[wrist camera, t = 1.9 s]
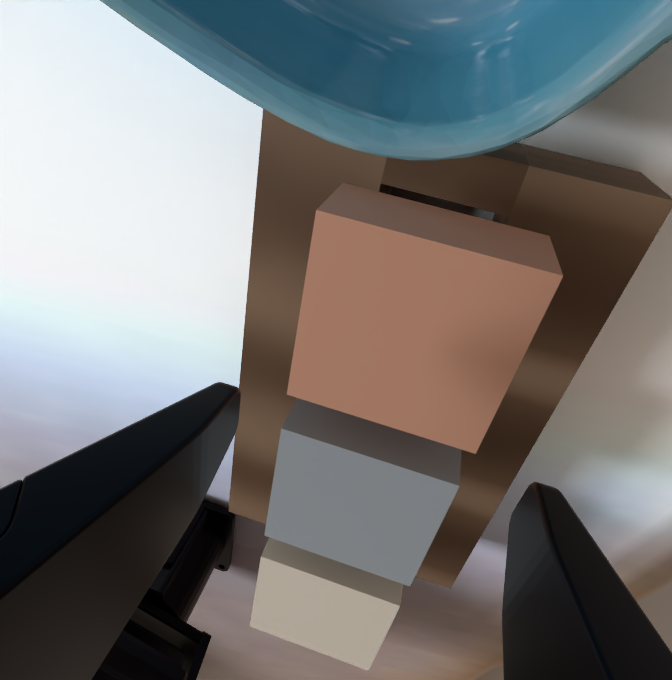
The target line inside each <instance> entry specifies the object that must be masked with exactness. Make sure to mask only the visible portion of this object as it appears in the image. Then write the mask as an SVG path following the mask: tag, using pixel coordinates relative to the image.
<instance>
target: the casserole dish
mask: <svg viewBox="0 0 672 680" xmlns="http://www.w3.org/2000/svg"><path fill="white" fill-rule="evenodd" d="M100 1H102V2H103V3H105V4H106V5H107V6H109V7H110V8H111V9H113V10H114V11H116V12H117V13H118V14H120V15H121V16H123V17H124V18H125V19H127V20H128V21H130V22H131V23H132V24H134V25H135V26H136V27H138V28H139V29H141V30H142V31H144V32H145V33H147V34H148V35H150V36H151V37H153V38H154V39H156V40H157V41H159V42H160V43H161V44H163V45H164V46H166V47H167V48H169V49H170V50H172V51H173V52H175V53H176V54H178V55H179V56H181V57H182V58H184V59H185V60H187V61H188V62H189V63H191V64H192V65H194V66H195V67H197V68H198V69H200V70H201V71H203V72H204V73H206V74H207V75H209V76H210V77H212V78H214V79H215V80H217V81H218V82H220V83H221V84H223V85H225V86H226V87H228V88H229V89H231V90H233V91H234V92H236V93H237V94H239V95H241V96H242V97H244V98H245V99H247V100H249V101H251V102H253V103H254V104H256V105H258V106H260V107H261V108H263V109H265V110H267V111H269V112H270V113H272V114H274V115H276V116H277V117H279V118H281V119H283V120H285V121H286V122H288V123H290V124H293V125H295V126H297V127H299V128H301V129H303V130H305V131H307V132H310V133H312V134H314V135H316V136H318V137H320V138H322V139H324V140H327V141H329V142H332V143H335V144H338V145H341V146H344V147H347V148H351V149H354V150H357V151H361V152H365V153H369V154H374V155H378V156H383V157H390V158H397V159H403V160H424V161H437V160H447V159H457V158H467V157H472V156H476V155H480V154H484V153H488V152H492V151H496V150H499V149H502V148H504V147H506V146H509V145H511V144H513V143H516V142H518V141H520V140H523V139H525V138H527V137H530V136H532V135H534V134H536V133H539V132H541V131H543V130H544V129H546V128H548V127H549V126H551V125H552V124H554V123H556V122H557V121H559V120H560V119H562V118H564V117H565V116H567V115H568V114H570V113H572V112H573V111H575V110H576V109H578V108H580V107H581V106H583V105H584V104H586V103H587V102H589V101H590V100H592V99H593V98H595V97H596V96H597V95H599V94H600V93H601V92H603V91H604V90H605V89H607V88H608V87H609V86H611V85H612V84H613V83H615V82H616V81H617V80H619V79H620V78H621V77H623V76H624V75H625V74H627V73H628V72H629V71H631V70H632V69H633V68H634V67H635V66H637V65H638V64H639V63H640V62H642V61H643V60H644V59H645V58H647V57H648V56H649V55H650V54H652V53H653V52H654V51H655V50H656V49H658V48H659V47H660V46H661V45H663V44H664V43H666V42H668V41H670V40H671V39H672V0H100Z"/></svg>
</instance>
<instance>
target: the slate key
mask: <svg viewBox="0 0 672 680" xmlns="http://www.w3.org/2000/svg"><path fill="white" fill-rule="evenodd" d="M460 469H461V449H458V448H455V447H452V446H449V445H446V444H443V443H439V442H436V441H433V440H430V439H427V438H423V437H420V436H417V435H414V434H411V433H408V432H404V431H401V430H398V429H395V428H392V427H388V426H385V425H382V424H379V423H376V422H373V421H369V420H366V419H363V418H360V417H357V416H353V415H350V414H347V413H344V412H341V411H338V410H334V409H331V408H328V407H325V406H322V405H318V404H315V403H312V402H309V401H306V400H303V399H299V398H297V399H296V401H295V403H294V405H293V407H292V409H291V411H290V413H289V415H288V416H287V418H286V420H285V422H284V424H283V426H282V428H281V433H280V440H279V446H278V452H277V458H276V465H275V471H274V477H273V484H272V490H271V496H270V502H269V509H268V515H267V521H266V527H265V534H264V536H267V537H270V538H273V539H276V540H278V541H281V542H284V543H287V544H290V545H293V546H295V547H298V548H301V549H304V550H307V551H310V552H313V553H315V554H318V555H321V556H324V557H327V558H330V559H333V560H335V561H338V562H341V563H344V564H347V565H350V566H352V567H355V568H358V569H361V570H364V571H367V572H370V573H372V574H375V575H378V576H381V577H384V578H387V579H390V580H392V581H395V582H398V583H401V584H404V585H407V586H409V587H410V586H411V584H412V582H413V580H414V578H415V576H416V574H417V572H418V570H419V568H420V566H421V563H422V561H423V559H424V557H425V555H426V553H427V551H428V549H429V547H430V545H431V543H432V541H433V539H434V537H435V535H436V533H437V531H438V529H439V527H440V525H441V523H442V521H443V519H444V517H445V515H446V513H447V511H448V509H449V507H450V505H451V503H452V501H453V499H454V497H455V494H456V492H457V490H458V488H459V486H460Z"/></svg>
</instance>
